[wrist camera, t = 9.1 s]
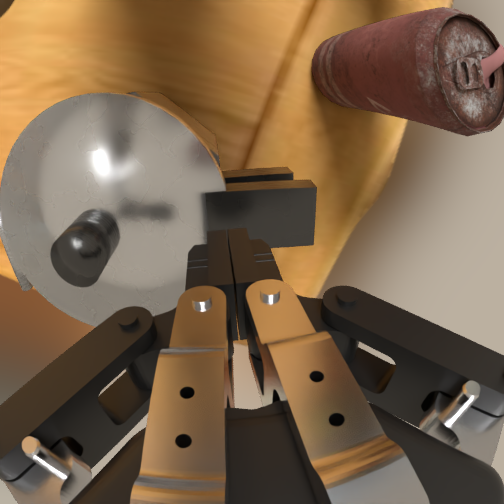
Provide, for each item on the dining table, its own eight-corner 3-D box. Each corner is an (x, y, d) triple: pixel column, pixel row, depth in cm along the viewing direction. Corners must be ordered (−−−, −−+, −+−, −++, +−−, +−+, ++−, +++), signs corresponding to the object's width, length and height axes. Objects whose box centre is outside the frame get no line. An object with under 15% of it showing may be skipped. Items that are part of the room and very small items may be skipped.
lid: (-17, 134, 11) (-60, 152, 7) (310, 70, 11) (340, 63, 8) (45, 318, 18) (25, 356, 14) (302, 310, 18) (316, 358, 15)
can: (391, 71, 19) (527, 85, 8) (349, 121, 22) (479, 168, 10) (340, 21, 17) (468, -18, 5) (294, 72, 19) (406, 56, 7)
